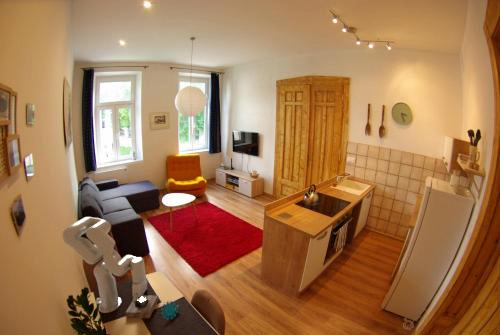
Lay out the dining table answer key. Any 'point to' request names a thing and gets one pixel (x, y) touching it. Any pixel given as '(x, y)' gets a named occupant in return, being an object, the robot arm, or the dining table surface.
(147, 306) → the bore block
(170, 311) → the gear
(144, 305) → the peg
